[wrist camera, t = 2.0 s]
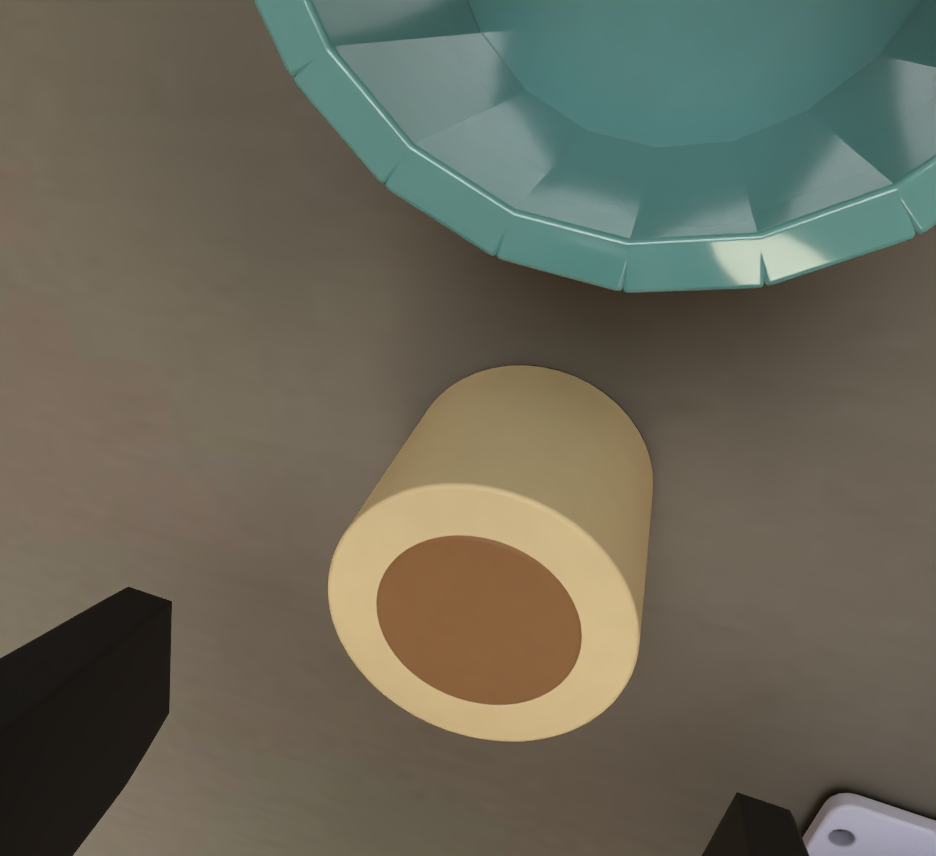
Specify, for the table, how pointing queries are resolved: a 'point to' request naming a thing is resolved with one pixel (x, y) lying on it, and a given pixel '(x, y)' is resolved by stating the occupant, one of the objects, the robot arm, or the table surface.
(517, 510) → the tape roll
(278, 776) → the table surface
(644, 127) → the pen holder
